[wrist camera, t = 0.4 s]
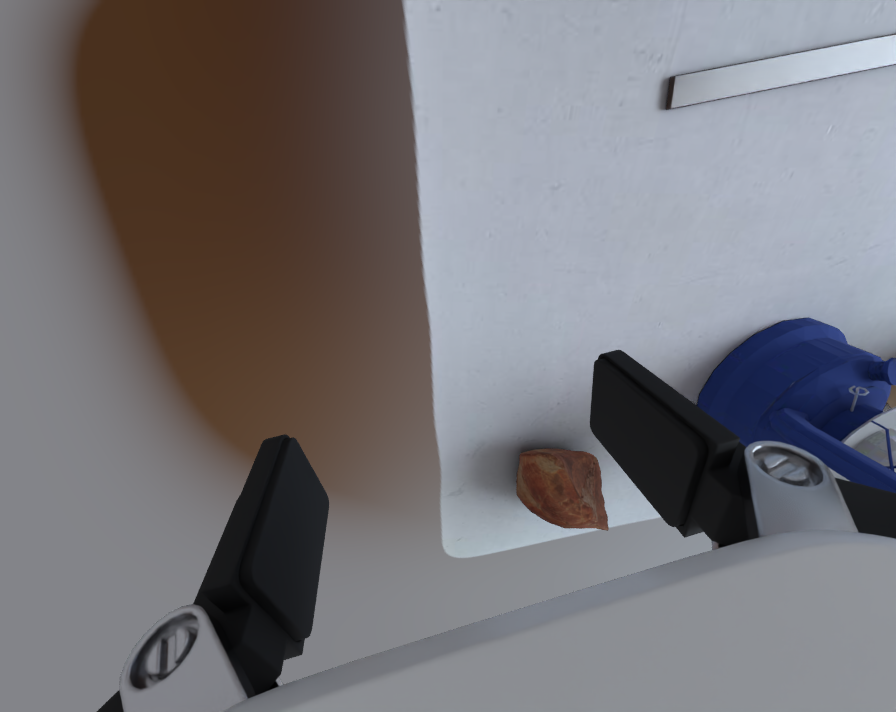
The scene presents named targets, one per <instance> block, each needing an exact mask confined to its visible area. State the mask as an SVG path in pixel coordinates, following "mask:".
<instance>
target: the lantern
mask: <svg viewBox="0 0 896 712" xmlns="http://www.w3.org/2000/svg"><path fill="white" fill-rule="evenodd" d="M891 385H896V358H890V359H889V360H887V361H886V362H885V361H883V360H881V357H878V356H876V355H873V354H871V353H869V352H866V351H864V350H861V349H859V348H856V347H853V346H851V345H848V344H847V341H846V338H845V336H844V334H843V333H842V332H841V331H840V330H839V329H838V328H835V327H833V326H830V325H828V324H825V323H822V322H820V321H817V320H814V319H811V318H802V319H795V320H788V321H782V322H780V323H778V324H776V325H774V326H772V327H770V328H768V329H765V330H763V331H761V332H759V333H757V334H755V335H753V336H752V337H750V338H749V339H748V340H747V341H745V342H744V343H743V344H741V345H740V346H739V347H738V348H736V349H735V350H734V351H732V352H731V353H730V354H729V355H728V356H727V357H726V358H725V359H724V360H723V361H722V363H721V364H720V365H719V366H718V367H717V368H716V369H715V370H714V371H713V373H712V375H711V376H710V378H709V380H708V381H707V383H706V385H705V386H704V388H703V389H702V391H701V393H700V394H699V399H698V403H697V406H698V407H699V408H700V409H702V410H703V411H704V412H706V413H707V414H708V415H710V416H711V417H713V418H714V419H715V420H717V421H718V422H719V423H721V424H722V425H723V426H725V427H726V428H727V429H729V430H730V431H732V432H733V433H734V434H736V435H737V436H738V437H740V441H739V442H740V443H742V444H743V445H744V446H746V447H748V445H749V444H752V443H754V442H757V441H775V442H782V443H785V444H789V445H793V446H795V447H798V448H800V449H802V450H805V451H807V452H809V453H810V454H812V455H814V456H815V457H817V458H818V459H820V460H821V461H822V462H823V463H824V464H825V465H827V466H828V468H829V469H830V471H831V472H832V474H833V475H834V477H835V478H839V479H843V480H847V481H851V482H854V483H858V484H862V485H866V486H870V487H874V488H878V489H882V490H886V491H890V492H893V493H896V473H895V472H894V468H896V407H893V408H891V409H889V410H887V411H885V412H883V409H884V407H885V405H886V402H887V400H888V398H889V395H890V391H891Z"/></svg>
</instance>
